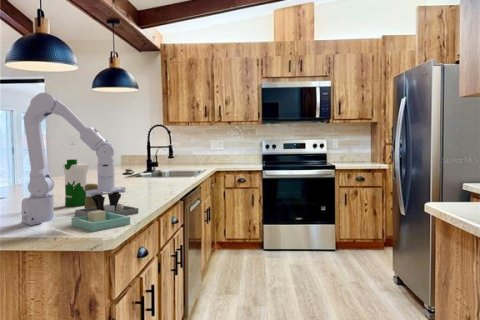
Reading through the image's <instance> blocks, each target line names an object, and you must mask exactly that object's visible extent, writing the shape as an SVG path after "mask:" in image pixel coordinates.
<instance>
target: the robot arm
mask: <svg viewBox="0 0 480 320" xmlns="http://www.w3.org/2000/svg"><path fill="white" fill-rule="evenodd" d="M52 114H55V115H56V116H59V117H62V118H63V119H64V120H65V121H66V122H67V123H68V124H70V126H72V127H73V128H74V129H75V130H76V131H77V132H79V139H80V140H81V141H82V142H83V143H84V144H85V145H86V146H87V147H89V149H90V150H92V151H93V152H95V155H96V157H97V165H96V166H97V169H96V170H97V185H98V189H95V190H89V191H86V196H88V197H91V196H92V199H93V201H94V203H95V205H96V207H97V210H101V211H104V205H105V199H106V197H105V196H103V195H107V197H108V202H109V204H110V205H115V210H116V206H117V203H118V202H119V201H120V199H121V198H122V193H126V187H125V186H119V187H115V186H116V185H115V184H116V183H115V164H114V161H115V158H114V155H115V148H114V147H113V146H112V144H111V143H109V140H108V139H106V138H104V137H103V136H102V135H101V134H100V133H99V130H98V129H97V128H94V126H93V127H92V126H87V125H85V123H84V122H83V121H82V120H81V119H80V118H79V117H78V116H77V115H76V114H75V113H74V112H73V111H72V110H71V109H70V107H68V106H66V104H65V103H63V102H61V101H60V100H58V98H57V97H55V96H53V95H52V94H50V93H47V92H39V93H37V94H36V95H35V96H34V97H32V98H31V99H30V103H29V106H28V107H27V110H26V111H25V113H24V115H23V122H24V123H23V124H24V130H25V136H26V137H25V138H26V143H27V150H28V158H29V164H30V172H29V182H28V185H27V189H28V192H29V193H30V195H29V196H28V197H24V198H23V199H22V201H21V221H20V222H21V223H23V224H26V225H28V226H33V225H39V224H42V223H47V222H53V221H59V219H58V218H55V210H54V207H55V205H54V204H55V203H54V193H53V192H52V190H53V189H54V186H55V182H54V179H52V177H51V175H50V174H51V173H50V171H49V169H48V165H47V156H46V149H45V144H44V143H45V142H44V137H43V130H42V129H43V128H42V127H43V126H42V122H43V121H44V120H45V119H46V118H47V117H48V116H50V115H52Z"/></svg>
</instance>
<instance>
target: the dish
mask: <svg viewBox="0 0 480 320" xmlns="http://www.w3.org/2000/svg"><path fill="white" fill-rule="evenodd" d="M105 215H106V220H105V221H100V222H90V221H88V215H87V216H75V217H72V218H71V219H70V220H71V226H72V227H74V228H75V227H76V228H79V229H83V230H86V231H89V232H93V233H94V232H98V231H103V230H107V229H113V228H117V227H119V228H120V227H123V226H128V225H131V216H129V215H126V216H124V215H119V214H115V213H110V212H106V213H105Z"/></svg>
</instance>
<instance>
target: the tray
mask: <svg viewBox="0 0 480 320" xmlns="http://www.w3.org/2000/svg"><path fill="white" fill-rule="evenodd" d="M96 210H97V207H92V208H85V209H84V208H81V209H75V211H74V213H75V216H76V217H81V216H87V215H88V212H90V211H96ZM110 213H115V214H119V215H124V216H130V215H136V214H137V215H138V214H139V208H138V207H134V206H127V205H124V204H123V210H122V211H116V212H110Z"/></svg>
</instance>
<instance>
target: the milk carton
mask: <svg viewBox="0 0 480 320" xmlns="http://www.w3.org/2000/svg"><path fill="white" fill-rule="evenodd" d="M62 166H63V167H62V168H63V172H64V185H65V186H64V188H65V191H64V192H65V193H64V194H65V198H64V202H65V203H64V206H65V207H71V208H78V207H79V208H80V207H85V198H86V191H85V185H87V184H89V169H90V163H78V159H66V164H65V163H64V164H62Z"/></svg>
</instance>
